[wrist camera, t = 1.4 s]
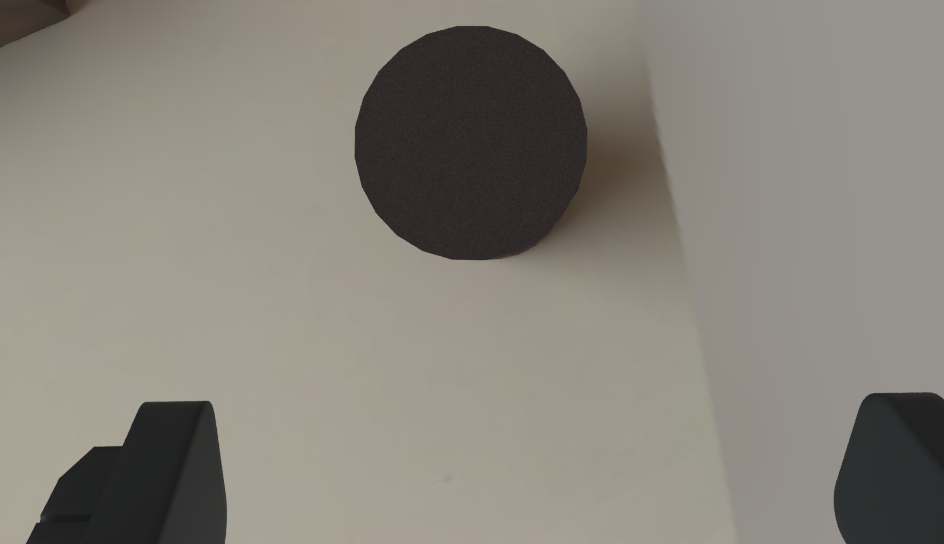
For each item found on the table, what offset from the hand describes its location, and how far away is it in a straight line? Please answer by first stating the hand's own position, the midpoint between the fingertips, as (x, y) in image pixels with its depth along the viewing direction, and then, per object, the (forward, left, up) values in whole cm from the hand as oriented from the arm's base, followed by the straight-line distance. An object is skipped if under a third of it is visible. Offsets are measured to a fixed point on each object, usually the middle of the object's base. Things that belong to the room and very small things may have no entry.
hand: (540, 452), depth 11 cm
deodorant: (0, -6, -26) cm, 27 cm away
